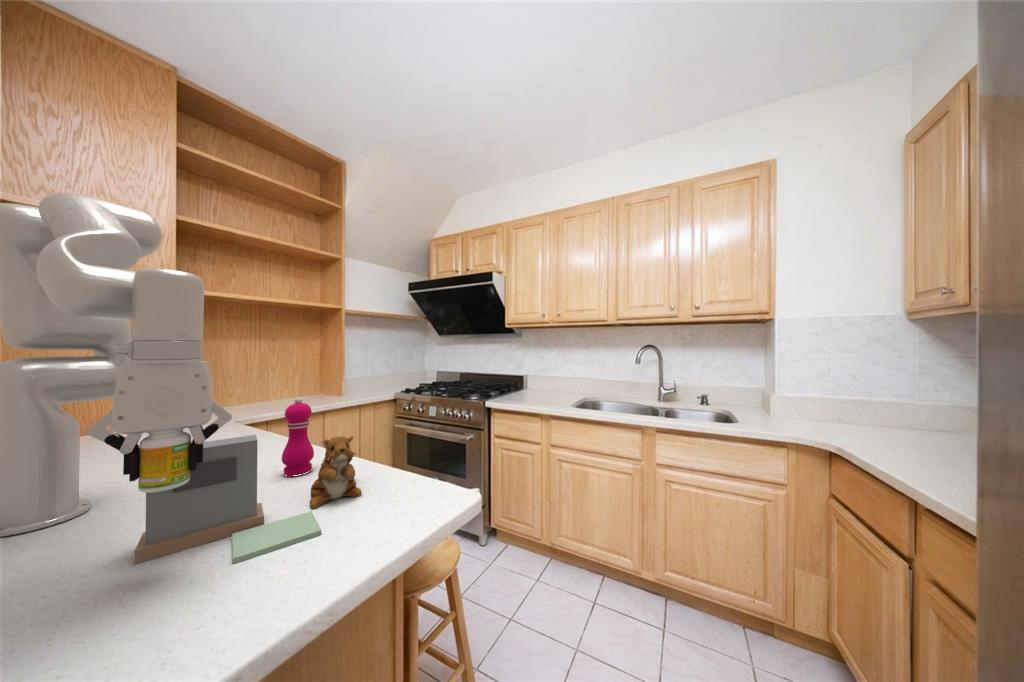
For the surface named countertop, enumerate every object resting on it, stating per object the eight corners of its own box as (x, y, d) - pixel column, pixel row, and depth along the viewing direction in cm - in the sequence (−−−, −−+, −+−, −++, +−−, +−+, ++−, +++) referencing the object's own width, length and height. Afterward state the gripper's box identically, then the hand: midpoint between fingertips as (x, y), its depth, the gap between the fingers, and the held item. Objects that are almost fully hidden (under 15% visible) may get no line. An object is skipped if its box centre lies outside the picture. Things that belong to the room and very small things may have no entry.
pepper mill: (291, 468, 91) (291, 395, 91) (318, 467, 92) (319, 394, 92) (275, 478, 84) (275, 399, 84) (305, 477, 84) (305, 399, 85)
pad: (232, 563, 51) (232, 558, 51) (232, 538, 58) (232, 533, 58) (321, 534, 59) (321, 530, 59) (311, 515, 65) (311, 511, 65)
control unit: (134, 564, 51) (135, 459, 51) (143, 543, 56) (144, 449, 56) (264, 526, 61) (264, 440, 61) (261, 512, 67) (261, 432, 67)
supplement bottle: (175, 491, 48) (176, 424, 48) (127, 495, 46) (128, 426, 46) (198, 476, 53) (199, 416, 53) (155, 480, 51) (157, 417, 52)
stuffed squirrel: (309, 511, 67) (310, 446, 67) (308, 487, 79) (308, 431, 79) (363, 499, 72) (363, 438, 72) (354, 477, 84) (354, 426, 84)
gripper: (66, 354, 41) (62, 499, 41) (242, 353, 53) (239, 467, 52) (85, 352, 47) (82, 479, 47) (241, 351, 58) (238, 454, 58)
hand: (165, 471), depth 50 cm, fingers closed on supplement bottle, 5 cm apart
